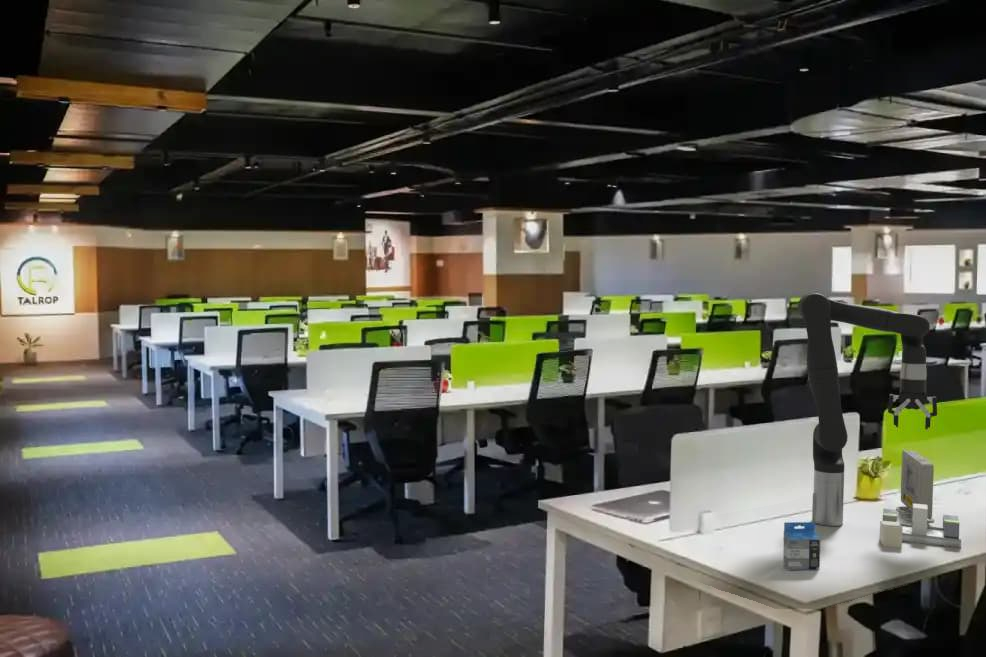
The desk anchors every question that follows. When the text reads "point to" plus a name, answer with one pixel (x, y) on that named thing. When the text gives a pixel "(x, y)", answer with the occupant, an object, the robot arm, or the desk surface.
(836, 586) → the desk surface
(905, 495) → the network device
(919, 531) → the block
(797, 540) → the label tape box
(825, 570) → the desk surface
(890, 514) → the grey base with blocks
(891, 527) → the block
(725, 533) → the desk surface
